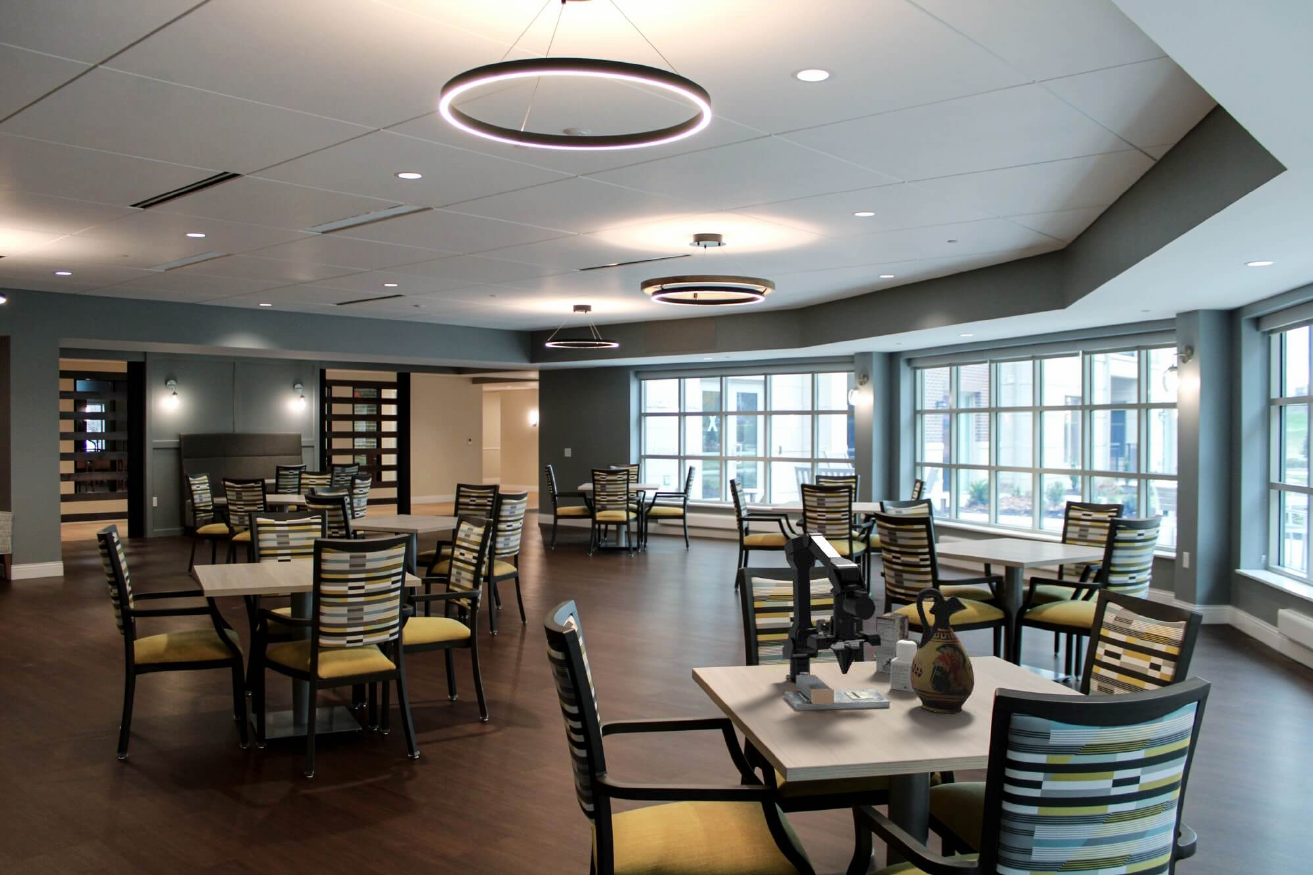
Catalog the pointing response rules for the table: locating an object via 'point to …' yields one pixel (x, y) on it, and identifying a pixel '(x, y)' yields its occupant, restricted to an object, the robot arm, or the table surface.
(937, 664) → the ceramic jug
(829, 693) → the swing bar
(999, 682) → the table surface
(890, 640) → the coffee box
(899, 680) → the container
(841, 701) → the panel
